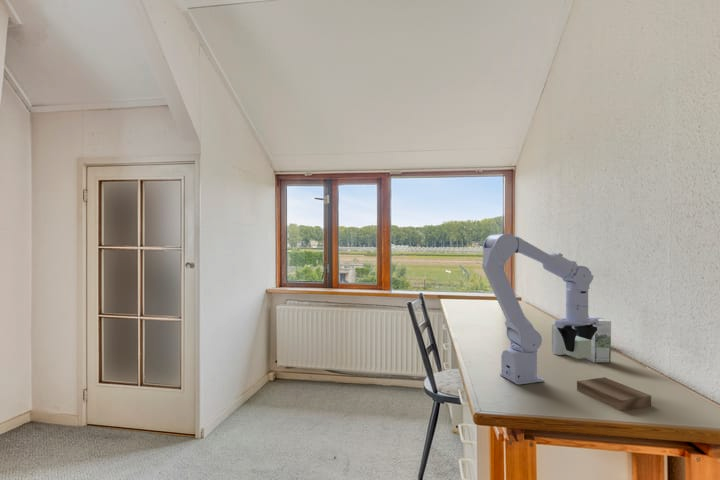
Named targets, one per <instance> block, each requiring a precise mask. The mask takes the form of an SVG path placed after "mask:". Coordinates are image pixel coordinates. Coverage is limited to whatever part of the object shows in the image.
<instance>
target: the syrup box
mask: <svg viewBox="0 0 720 480" xmlns="http://www.w3.org/2000/svg"><path fill="white" fill-rule="evenodd" d="M588 318H597V319H598V325H593V326H594V327H597V331H596V332H595V334H594V336H593V337H592V340H591V357H587V358H585V359H586V360H587V361H590V362H592V363H595V364H596V363H597V364H599V363H600V364H602V363H603V364H606V363H607V364H609V363H611V360H612V359H611V357H612V356H611V352H612V351H611V350H612V321H611V320H609V319H607V318H604V317H601V316H600V317H599V316H598V317H597V316H595V317H590V316H589V317H588Z"/></svg>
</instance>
